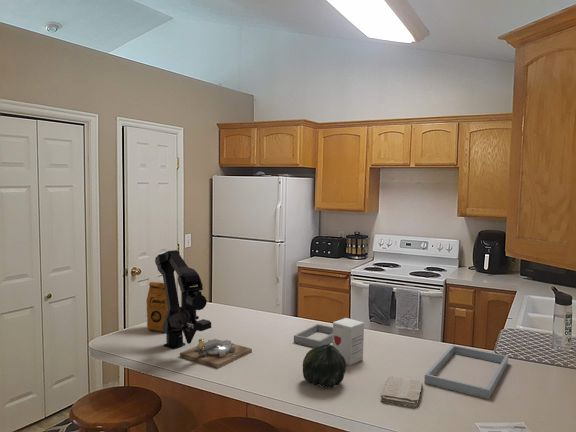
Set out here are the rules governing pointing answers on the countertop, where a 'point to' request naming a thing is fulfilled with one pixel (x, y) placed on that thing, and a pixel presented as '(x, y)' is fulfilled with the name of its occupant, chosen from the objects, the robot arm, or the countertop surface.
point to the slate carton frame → (463, 386)
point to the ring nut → (215, 348)
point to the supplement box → (349, 339)
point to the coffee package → (156, 306)
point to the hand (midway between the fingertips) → (188, 343)
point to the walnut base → (216, 360)
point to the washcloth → (402, 391)
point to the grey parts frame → (301, 336)
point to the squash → (324, 366)
